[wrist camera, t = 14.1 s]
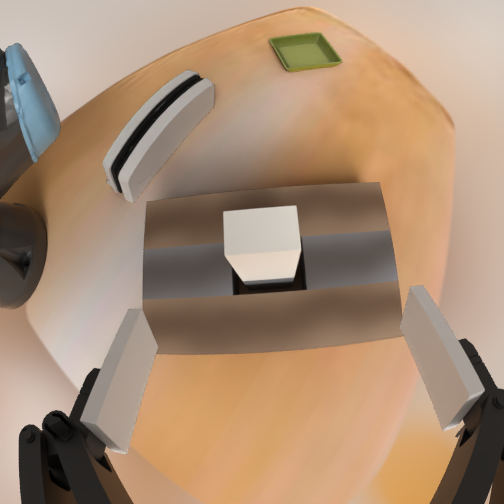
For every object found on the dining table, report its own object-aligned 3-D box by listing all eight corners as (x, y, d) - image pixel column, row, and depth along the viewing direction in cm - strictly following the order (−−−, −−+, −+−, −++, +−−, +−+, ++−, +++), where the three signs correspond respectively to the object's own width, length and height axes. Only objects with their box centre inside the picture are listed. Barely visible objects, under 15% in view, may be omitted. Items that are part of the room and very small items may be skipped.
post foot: (384, 336, 27) (404, 336, 22) (164, 351, 28) (143, 353, 24) (366, 203, 31) (379, 182, 26) (164, 220, 32) (146, 201, 27)
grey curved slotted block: (187, 95, 37) (188, 49, 27) (214, 111, 38) (222, 68, 28) (107, 187, 34) (82, 160, 24) (135, 208, 35) (116, 185, 25)
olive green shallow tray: (268, 47, 39) (268, 38, 37) (319, 41, 39) (320, 31, 37) (286, 79, 37) (285, 69, 35) (342, 72, 37) (343, 62, 35)
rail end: (291, 286, 28) (301, 249, 16) (249, 290, 28) (224, 255, 16) (289, 261, 29) (296, 205, 16) (247, 264, 29) (223, 211, 16)
